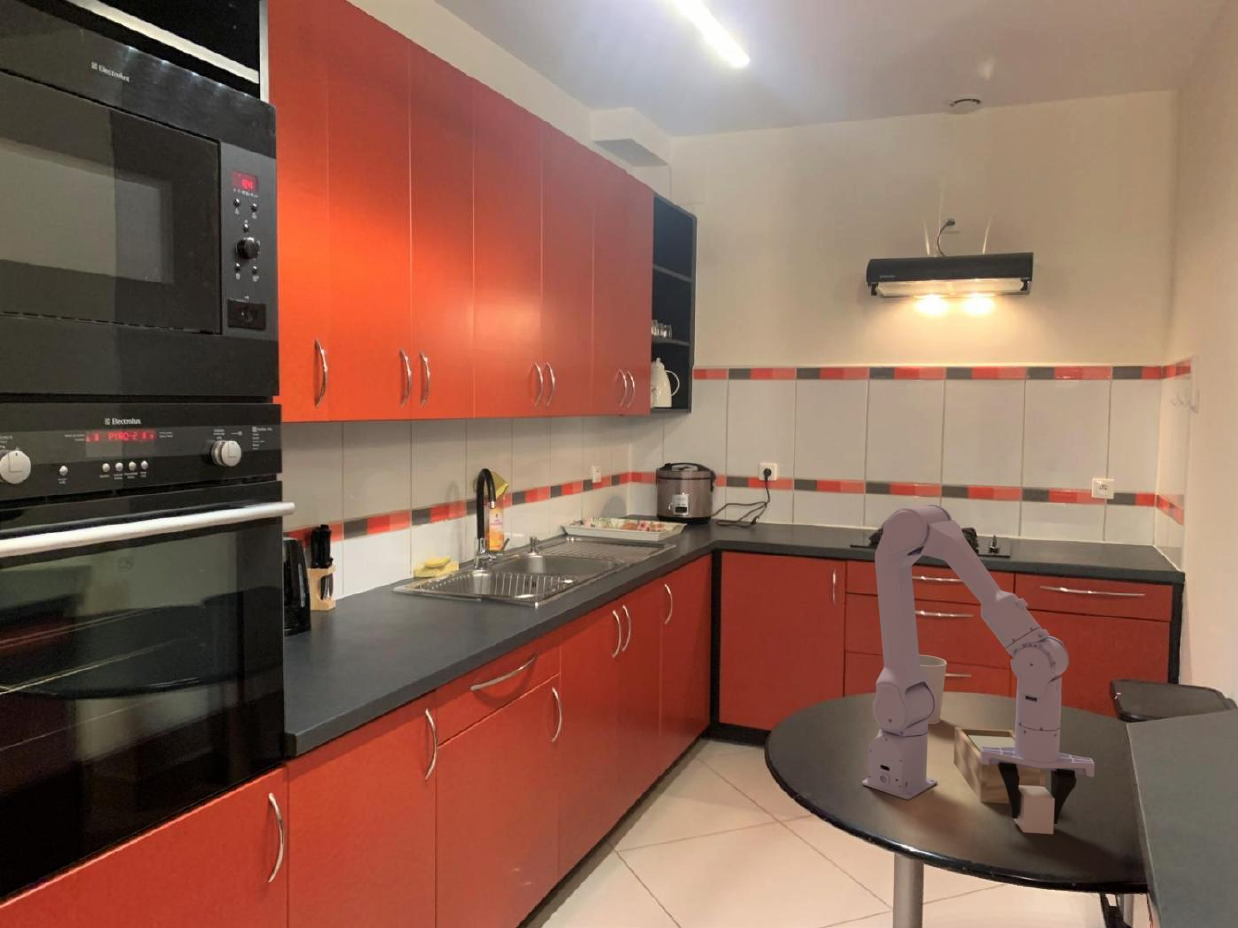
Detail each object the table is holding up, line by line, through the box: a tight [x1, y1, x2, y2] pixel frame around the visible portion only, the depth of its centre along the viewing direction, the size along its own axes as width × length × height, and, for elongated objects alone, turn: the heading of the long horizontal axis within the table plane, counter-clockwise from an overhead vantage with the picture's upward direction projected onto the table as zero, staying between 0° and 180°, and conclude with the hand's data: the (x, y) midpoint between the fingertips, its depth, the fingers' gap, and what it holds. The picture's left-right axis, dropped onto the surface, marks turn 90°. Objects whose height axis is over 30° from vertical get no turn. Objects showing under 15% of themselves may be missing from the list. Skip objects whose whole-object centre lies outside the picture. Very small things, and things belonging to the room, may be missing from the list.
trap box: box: [953, 726, 1047, 804], centre depth 142 cm, size 15×9×6 cm, turn 174°
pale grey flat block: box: [968, 735, 1015, 752], centre depth 141 cm, size 9×7×4 cm
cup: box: [919, 654, 948, 725], centre depth 170 cm, size 8×8×12 cm
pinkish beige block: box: [1013, 785, 1055, 835], centre depth 127 cm, size 4×4×6 cm
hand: (1033, 818), depth 127 cm, fingers closed on pinkish beige block, 4 cm apart
